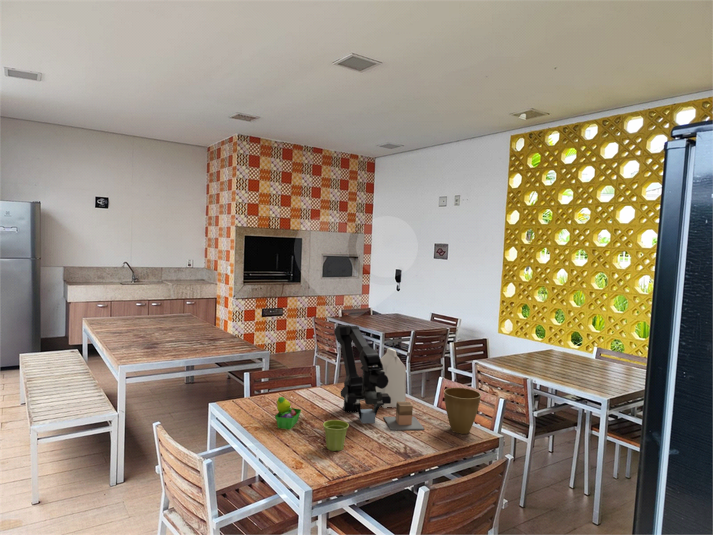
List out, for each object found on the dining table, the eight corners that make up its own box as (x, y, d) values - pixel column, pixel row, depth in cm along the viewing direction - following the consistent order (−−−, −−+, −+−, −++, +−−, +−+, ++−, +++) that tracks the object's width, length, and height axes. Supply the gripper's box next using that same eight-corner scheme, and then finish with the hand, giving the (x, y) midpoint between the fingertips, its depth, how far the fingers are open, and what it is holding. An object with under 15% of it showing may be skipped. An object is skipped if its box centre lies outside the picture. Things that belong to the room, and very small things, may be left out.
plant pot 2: (448, 421, 206) (451, 385, 206) (482, 429, 199) (485, 392, 198) (436, 431, 194) (438, 393, 193) (472, 440, 186) (474, 400, 185)
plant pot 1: (316, 449, 170) (318, 425, 170) (330, 440, 179) (331, 417, 178) (339, 455, 166) (340, 431, 166) (352, 446, 174) (353, 423, 174)
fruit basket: (292, 431, 186) (293, 403, 185) (270, 428, 188) (272, 400, 187) (301, 421, 197) (302, 394, 197) (281, 418, 199) (282, 392, 198)
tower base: (391, 430, 192) (391, 419, 192) (383, 418, 206) (384, 407, 206) (424, 430, 195) (425, 419, 194) (414, 417, 208) (415, 407, 208)
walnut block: (412, 415, 198) (412, 405, 198) (399, 415, 197) (400, 405, 197) (408, 410, 203) (409, 401, 203) (396, 410, 202) (396, 401, 202)
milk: (372, 400, 230) (375, 347, 229) (393, 398, 235) (396, 346, 234) (384, 408, 219) (387, 352, 218) (405, 406, 224) (408, 351, 223)
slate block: (362, 423, 198) (362, 413, 198) (359, 418, 204) (359, 409, 204) (374, 422, 200) (375, 413, 200) (371, 418, 205) (371, 409, 205)
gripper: (350, 387, 192) (348, 425, 192) (395, 387, 195) (392, 425, 195) (346, 379, 203) (344, 415, 203) (388, 380, 206) (386, 415, 206)
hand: (367, 418), depth 202 cm, fingers closed on slate block, 6 cm apart
